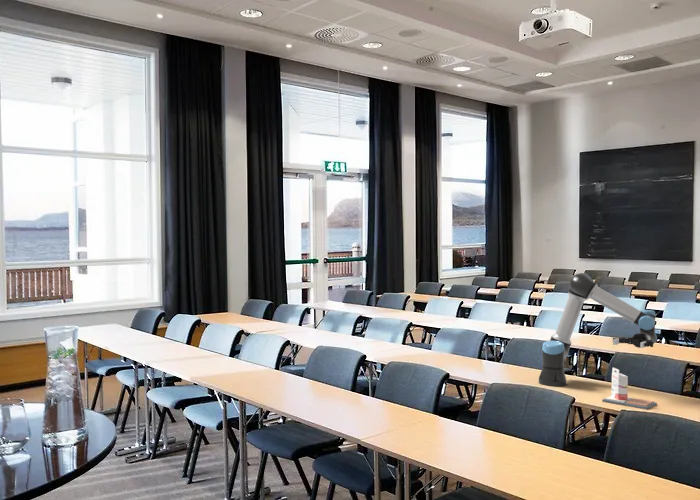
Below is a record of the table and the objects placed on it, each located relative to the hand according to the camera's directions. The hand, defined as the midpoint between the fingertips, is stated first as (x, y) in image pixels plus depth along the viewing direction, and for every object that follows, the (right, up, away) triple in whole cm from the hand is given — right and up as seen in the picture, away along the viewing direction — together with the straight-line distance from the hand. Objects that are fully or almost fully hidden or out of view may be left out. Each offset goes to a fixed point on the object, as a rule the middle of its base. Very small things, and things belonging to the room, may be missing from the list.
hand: (627, 343), depth 318 cm
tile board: (-4, -28, -11) cm, 30 cm away
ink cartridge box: (-7, -26, -7) cm, 28 cm away
